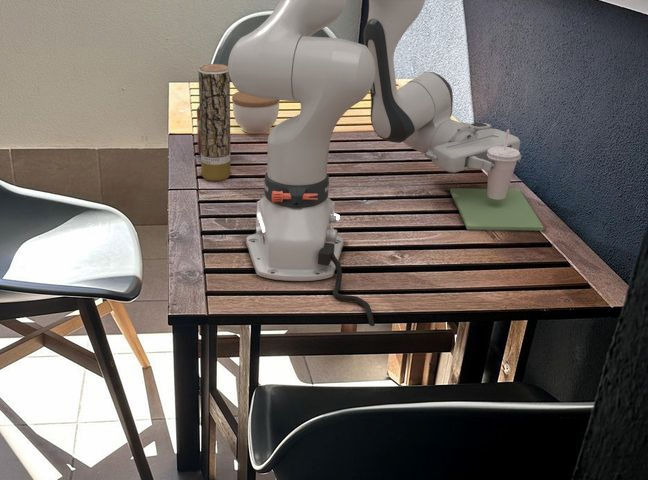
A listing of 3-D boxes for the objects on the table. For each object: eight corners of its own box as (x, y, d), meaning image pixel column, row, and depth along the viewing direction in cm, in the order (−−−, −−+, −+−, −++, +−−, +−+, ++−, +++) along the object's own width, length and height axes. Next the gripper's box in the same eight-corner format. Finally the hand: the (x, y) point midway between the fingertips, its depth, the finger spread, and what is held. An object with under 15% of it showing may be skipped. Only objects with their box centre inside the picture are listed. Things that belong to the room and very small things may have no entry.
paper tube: (227, 183, 185) (226, 72, 172) (198, 181, 186) (195, 71, 173) (233, 172, 191) (232, 64, 178) (205, 170, 192) (202, 63, 179)
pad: (543, 230, 161) (544, 227, 161) (466, 229, 162) (467, 225, 162) (519, 192, 178) (519, 189, 178) (449, 191, 179) (450, 188, 179)
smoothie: (515, 193, 170) (528, 128, 162) (507, 204, 165) (519, 138, 158) (485, 187, 173) (496, 123, 165) (476, 198, 168) (486, 132, 161)
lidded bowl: (254, 140, 210) (254, 97, 205) (222, 129, 218) (222, 88, 213) (288, 129, 217) (290, 88, 212) (256, 119, 226) (257, 79, 220)
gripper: (421, 138, 168) (470, 158, 158) (491, 121, 177) (542, 139, 167) (418, 167, 172) (466, 188, 161) (486, 149, 181) (536, 168, 170)
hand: (505, 163), depth 164 cm, fingers closed on smoothie, 6 cm apart
